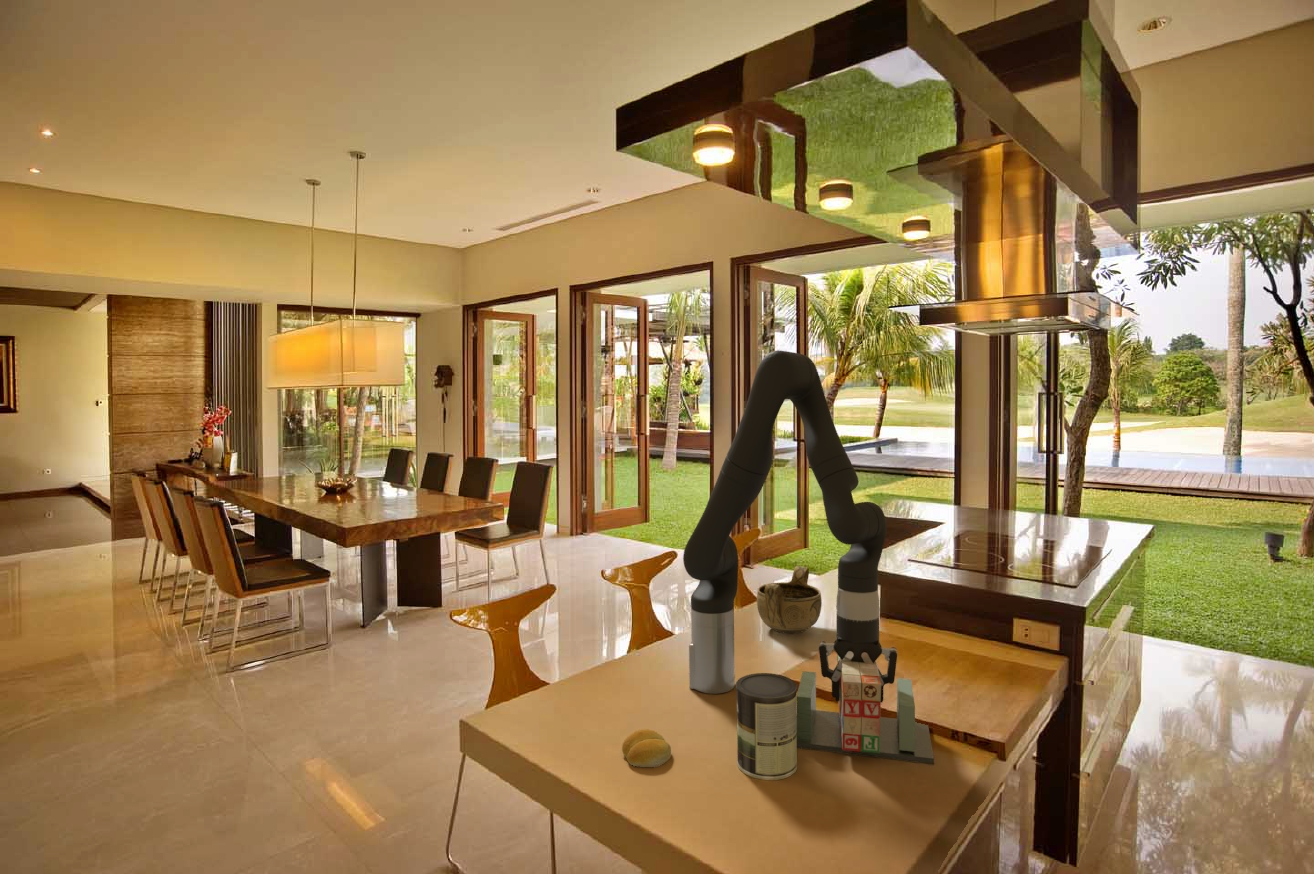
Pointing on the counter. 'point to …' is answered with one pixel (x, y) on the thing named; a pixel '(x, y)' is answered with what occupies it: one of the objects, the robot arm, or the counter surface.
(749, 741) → the coffee can
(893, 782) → the counter surface
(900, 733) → the sliding jaw
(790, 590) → the ceramic bowl
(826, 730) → the vise
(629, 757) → the bread roll
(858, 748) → the stack of blocks
